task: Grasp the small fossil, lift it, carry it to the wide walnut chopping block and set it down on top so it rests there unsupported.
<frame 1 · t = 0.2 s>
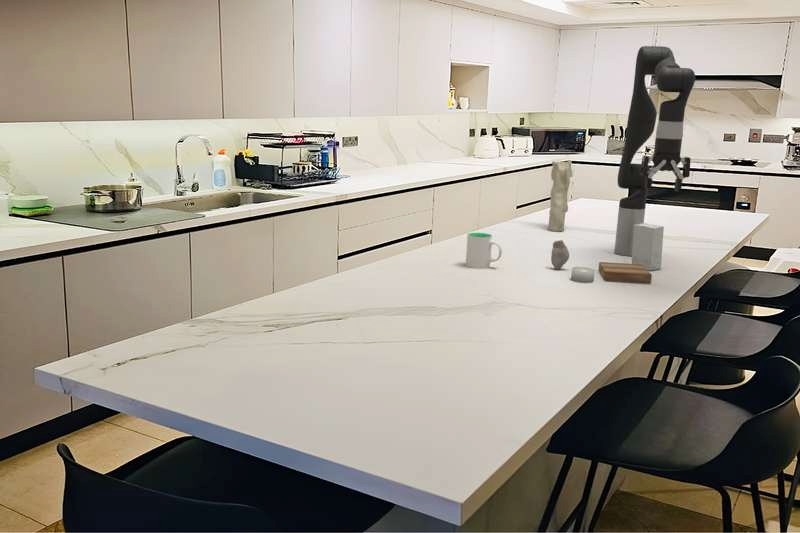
hand: (662, 190, 224), 29 cm above the countertop, fingers open, 8 cm apart
skincare box: (645, 268, 252), on the countertop
pale grey round piece: (582, 280, 232), on the countertop
mug: (483, 266, 246), on the countertop
walnut block: (623, 277, 237), on the countertop
fossil: (558, 269, 245), on the countertop
vase: (556, 231, 315), on the countertop
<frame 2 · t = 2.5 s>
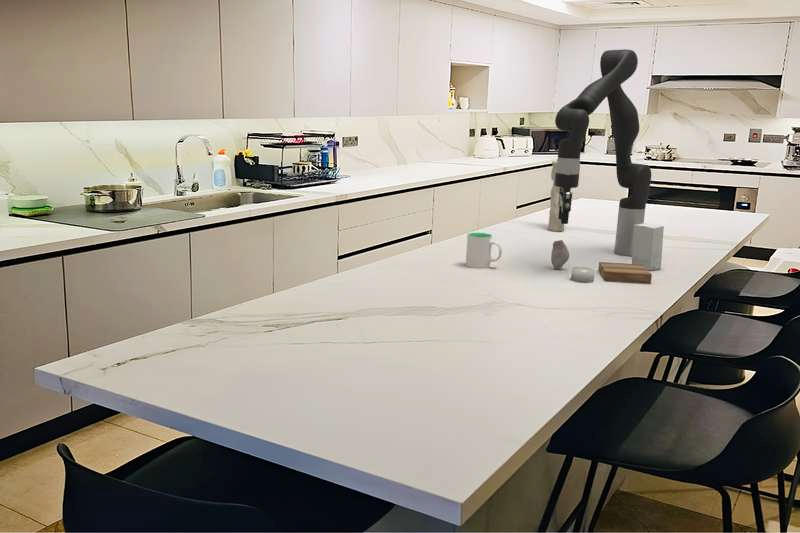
hand: (563, 221, 241), 16 cm above the countertop, fingers open, 8 cm apart
nothing on the countertop moved.
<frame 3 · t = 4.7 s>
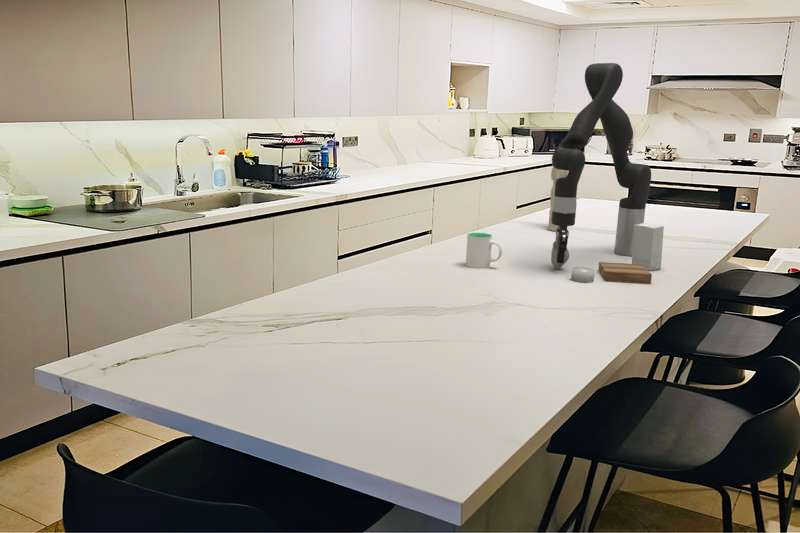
hand: (559, 261, 244), 3 cm above the countertop, fingers closed on fossil, 3 cm apart
fossil: (558, 269, 245), on the countertop, touching gripper
everything else where it was.
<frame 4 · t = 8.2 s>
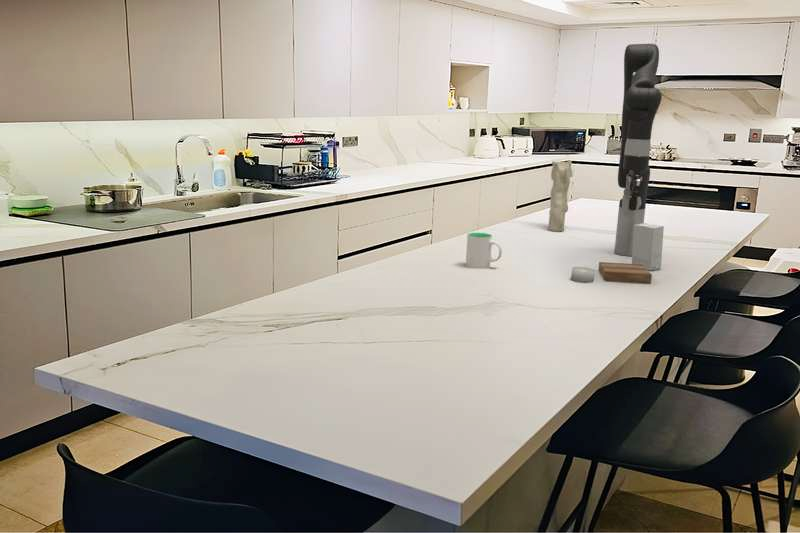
hand: (631, 208, 232), 22 cm above the countertop, fingers closed on fossil, 3 cm apart
fossil: (629, 217, 233), point 19 cm above the countertop, touching gripper
everything else where it was.
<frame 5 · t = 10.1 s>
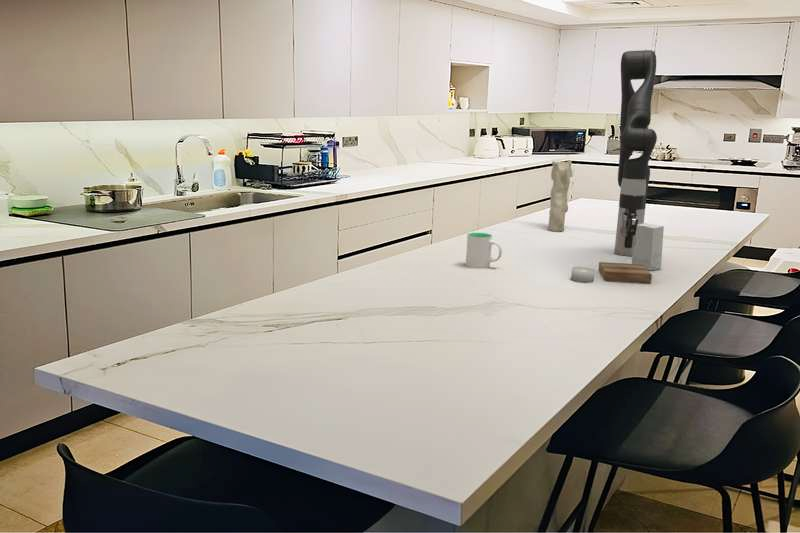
hand: (626, 246, 235), 10 cm above the countertop, fingers closed on fossil, 3 cm apart
fossil: (625, 255, 236), point 7 cm above the countertop, touching gripper
everything else where it was.
when the fingers open (7 cm above the countertop, at t = 11.6 s): fossil stays where it is, resting on walnut block.
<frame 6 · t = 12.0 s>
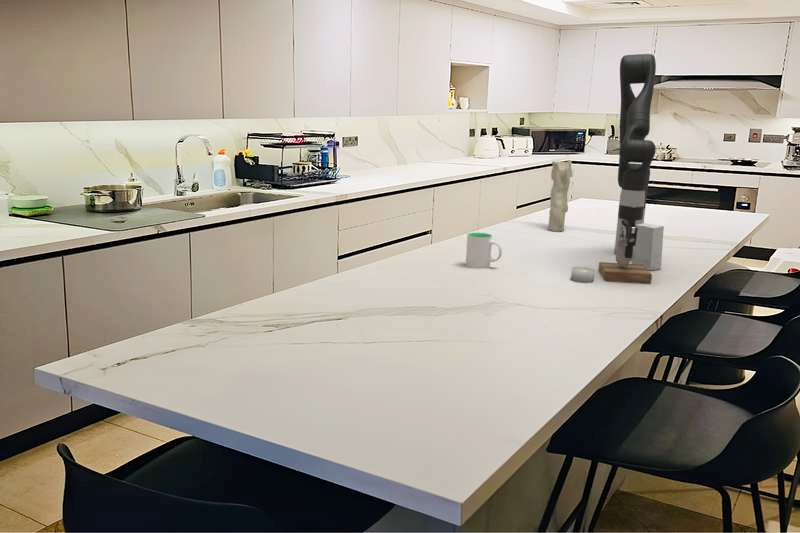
hand: (626, 255, 235), 7 cm above the countertop, fingers open, 6 cm apart
fossil: (623, 268, 237), point 3 cm above the countertop, touching walnut block
everything else where it was.
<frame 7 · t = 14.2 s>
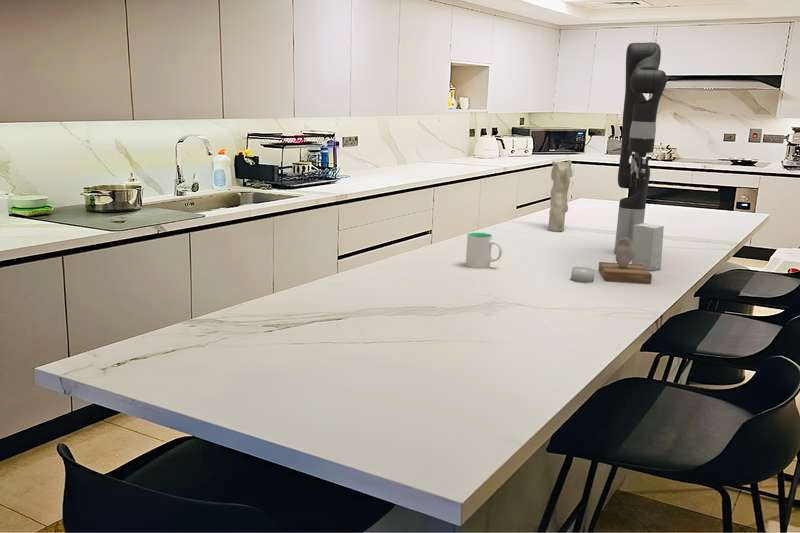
hand: (636, 188, 231), 29 cm above the countertop, fingers open, 8 cm apart
nothing on the countertop moved.
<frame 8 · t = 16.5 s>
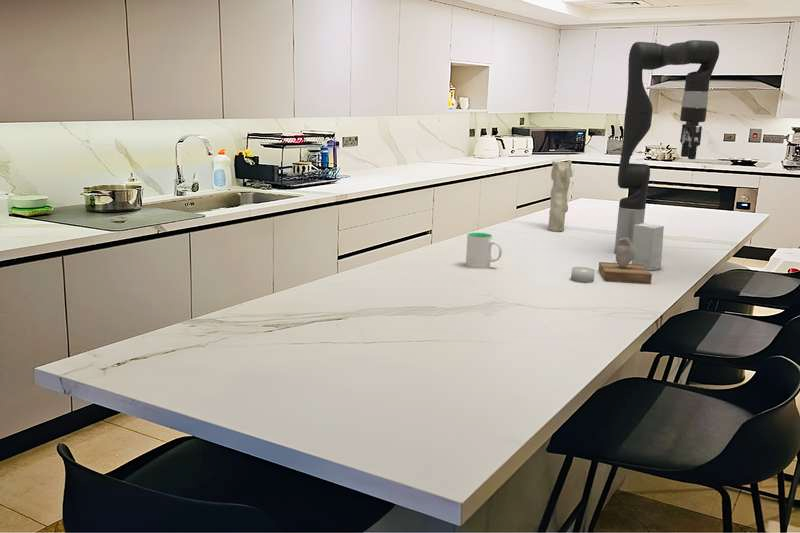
hand: (687, 158, 236), 38 cm above the countertop, fingers open, 8 cm apart
nothing on the countertop moved.
at the end: fossil inside the target area on the walnut block (0.6 cm from its centre), point 2.8 cm above the walnut block's base; fossil touching walnut block; the gripper is holding nothing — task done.
